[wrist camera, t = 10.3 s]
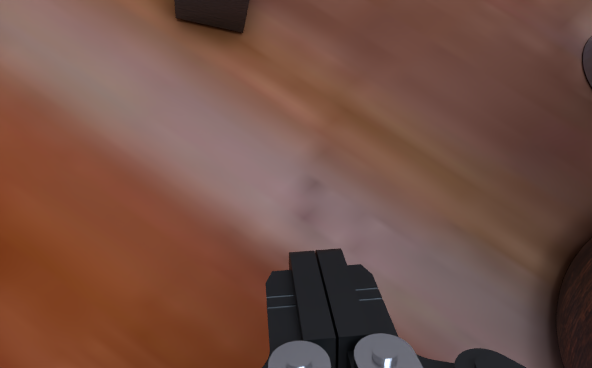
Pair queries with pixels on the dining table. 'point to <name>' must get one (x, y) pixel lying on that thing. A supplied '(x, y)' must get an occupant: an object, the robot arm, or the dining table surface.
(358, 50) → the dining table surface
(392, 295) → the dining table surface
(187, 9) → the dark boxy piece
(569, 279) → the wooden bowl
